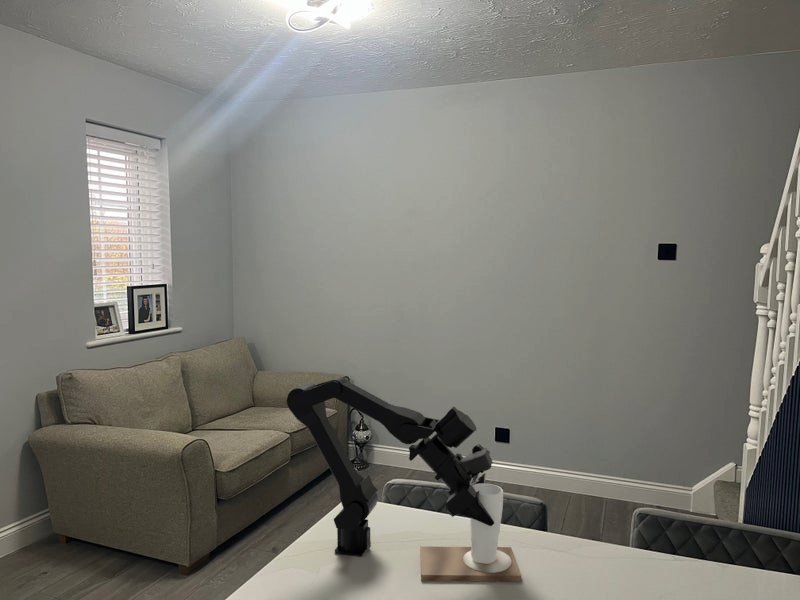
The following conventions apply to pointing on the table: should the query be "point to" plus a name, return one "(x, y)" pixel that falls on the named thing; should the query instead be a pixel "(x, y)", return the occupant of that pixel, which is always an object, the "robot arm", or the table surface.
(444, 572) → the walnut board
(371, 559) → the table surface
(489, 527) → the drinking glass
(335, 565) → the table surface
